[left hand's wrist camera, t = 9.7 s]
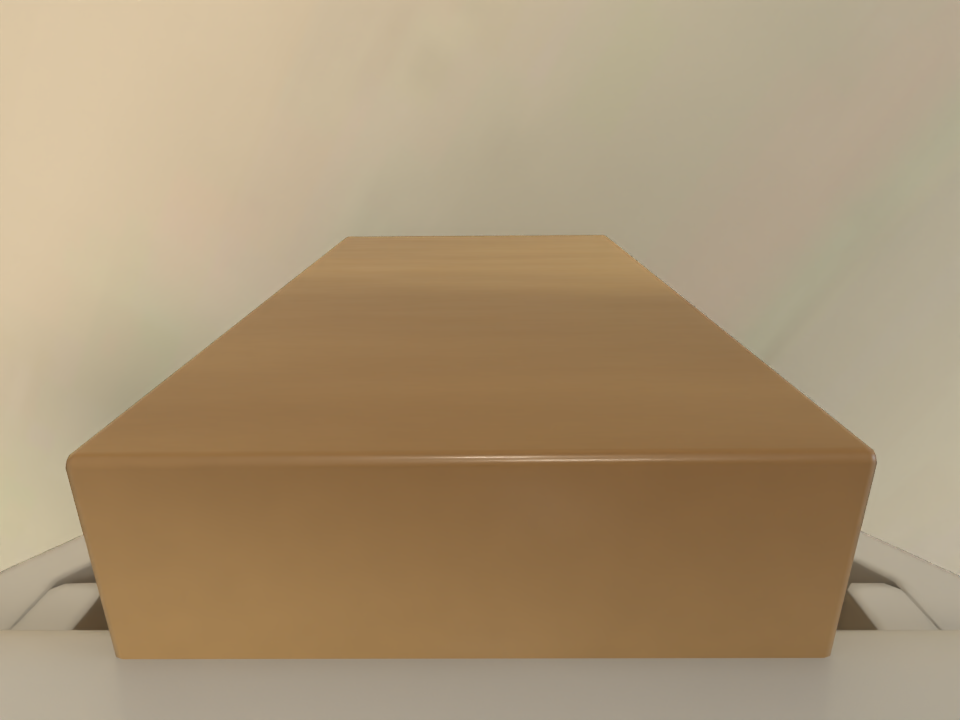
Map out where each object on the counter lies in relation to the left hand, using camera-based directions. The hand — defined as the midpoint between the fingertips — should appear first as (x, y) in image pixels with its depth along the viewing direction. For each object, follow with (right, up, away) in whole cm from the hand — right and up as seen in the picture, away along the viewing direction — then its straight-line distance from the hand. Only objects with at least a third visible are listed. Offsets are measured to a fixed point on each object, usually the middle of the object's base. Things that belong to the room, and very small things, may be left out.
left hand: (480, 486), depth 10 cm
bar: (0, -8, +7) cm, 10 cm away
